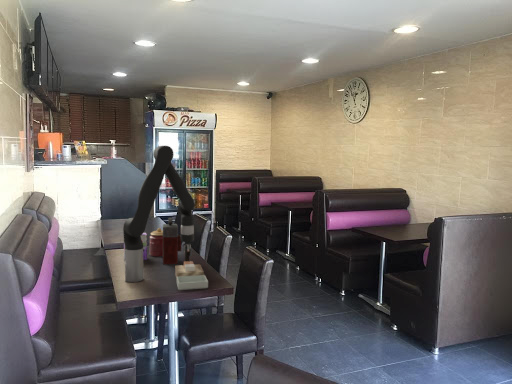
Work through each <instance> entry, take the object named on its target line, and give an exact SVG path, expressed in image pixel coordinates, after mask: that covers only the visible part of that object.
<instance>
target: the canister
mask: <svg viewBox="0 0 512 384" xmlns="http://www.w3.org/2000/svg"><path fill="white" fill-rule="evenodd" d="M148 251H149V256H152V257H163V229H162V228H161V227H158V228H157V230H153V231H152V232H150V235H149V250H148Z"/></svg>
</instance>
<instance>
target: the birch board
mask: <svg viewBox="0 0 512 384" xmlns="http://www.w3.org/2000/svg"><path fill="white" fill-rule="evenodd" d="M194 266H195V271H187V272H186V271H185V268H184V264H183V265H182V264H181V265H175V266H174V267H175V268H174V269H175V272H174V273H175V279H176V280H177V277H179V276H195V275H205V273H204V272H205V271H204V269H203V268H202V265H201V264H199V263H198V264H194Z"/></svg>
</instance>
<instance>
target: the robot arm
mask: <svg viewBox="0 0 512 384" xmlns="http://www.w3.org/2000/svg"><path fill="white" fill-rule="evenodd" d="M152 154H153V158H154V160H155V161H154V164H153V166H152V168H151V170H150V172H148V175H146V177H145V179H144V180H143V183H141V187H140V189H139V192H138V196H137V198H138V199H137V206H136V207H137V208H136V212H135V213H134V216H133V217H130V218H128V219H126V220H125V221H124V223H123V228H122V229H123V230H122V232H123V233H122V234H123V245H124V244H125V261H124V262H125V264H124V267H125V268H124V278H125V279H124V282H129V283H137V282H141V281H143V280H144V260H143V242H142V240H141V235H142V234H143V233H145V231H146V228H147V225H148V224H147V223H148V220H149V217H150V213H151V211H152V209H153V206H154V203H155V202H156V199H157V196H158V194H159V192H160V188H161V186H162V183H163V180H164V177H165V176H166V178H167V180H168V182H169V184H170V186H171V188H172V190H173V193H174V194H175V196H176V197H177V198H178V199H179V201H180V203H179V211H180V237H181V243H182V242H183V245H182V246H183V252H184V262H186V261H190V256H191V249H192V245H191V242H194V240H195V226H194V223H195V222H194V221H195V220H194V216H193V213H192V211H193V210H195V207H196V203H195V201H194V198H193V197H192V195H191V194H190V192H189V190H188V189H187V185H186V184H185V182H184V180H183V178H182V177H181V175H180V174H179V173H178V171H177V170H176V169H175V166H174V165H173V163H172V160H173V158H174V149H173V148H172V147H171V146H169V145H159V146H156V147H155V149H154V150H153V153H152Z"/></svg>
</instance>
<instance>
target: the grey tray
mask: <svg viewBox="0 0 512 384" xmlns="http://www.w3.org/2000/svg"><path fill="white" fill-rule="evenodd" d="M176 286H177V291H185V290H186V291H188V290H200V289H208V288H209V280H208V279H207V276H206V274H204V275H195V276H179V277H177V279H176Z"/></svg>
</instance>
